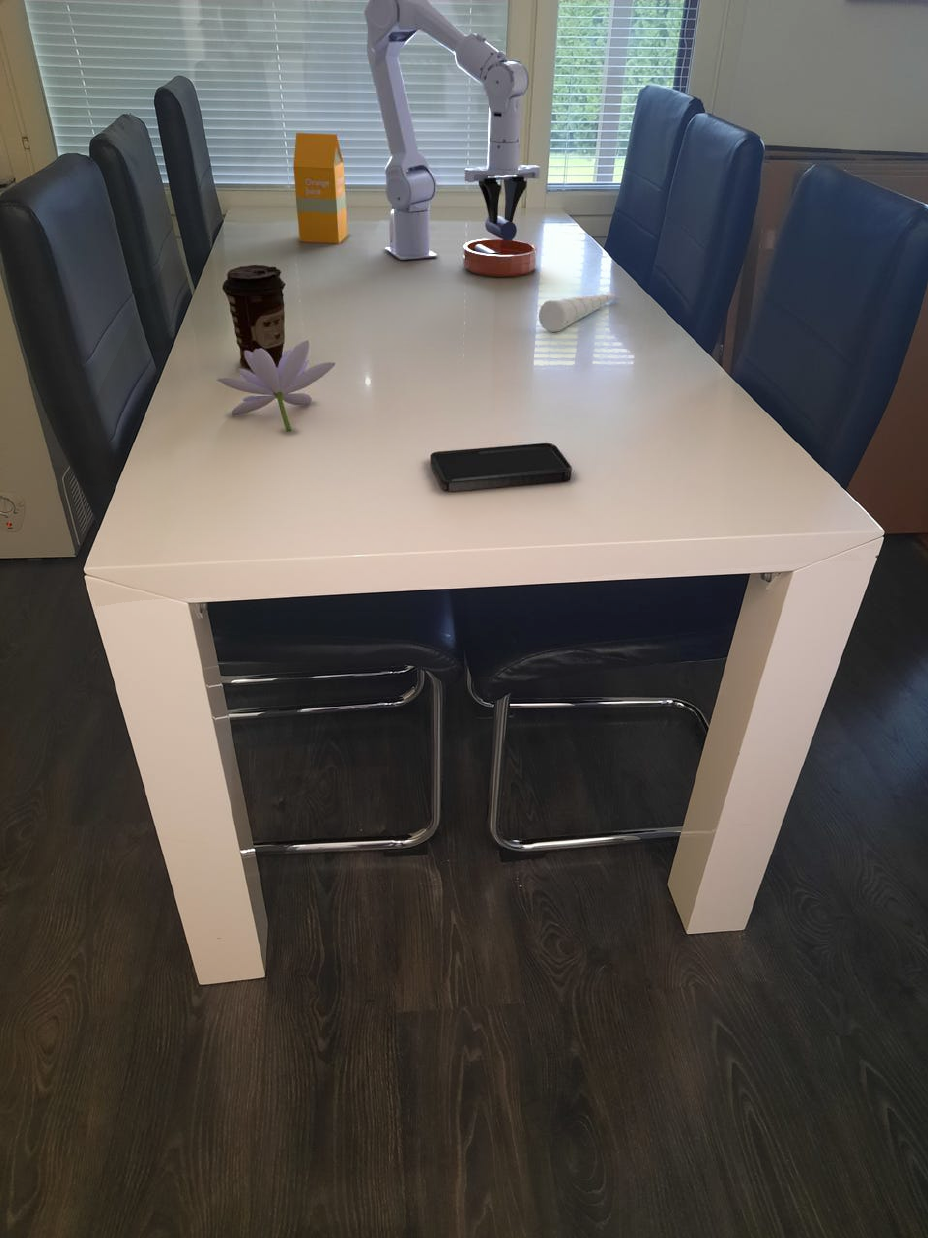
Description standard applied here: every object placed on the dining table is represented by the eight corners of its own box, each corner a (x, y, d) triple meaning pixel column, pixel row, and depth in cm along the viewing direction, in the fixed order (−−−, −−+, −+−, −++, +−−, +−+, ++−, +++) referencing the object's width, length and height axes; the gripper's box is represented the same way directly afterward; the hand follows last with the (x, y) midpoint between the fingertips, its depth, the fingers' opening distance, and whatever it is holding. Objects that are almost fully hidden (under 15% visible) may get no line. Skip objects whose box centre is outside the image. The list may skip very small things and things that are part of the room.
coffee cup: (305, 359, 125) (296, 266, 118) (277, 379, 119) (266, 281, 111) (252, 352, 127) (240, 260, 120) (222, 370, 121) (207, 274, 113)
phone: (574, 471, 95) (442, 482, 92) (573, 480, 96) (442, 492, 93) (552, 441, 101) (428, 451, 98) (551, 450, 102) (428, 460, 99)
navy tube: (483, 217, 164) (498, 211, 165) (487, 235, 166) (502, 229, 167) (498, 225, 159) (514, 218, 159) (502, 243, 161) (518, 237, 162)
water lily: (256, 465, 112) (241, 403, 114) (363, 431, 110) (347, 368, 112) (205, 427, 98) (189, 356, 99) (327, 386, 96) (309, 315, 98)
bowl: (452, 262, 172) (452, 241, 170) (515, 256, 177) (516, 236, 174) (481, 280, 162) (482, 258, 159) (547, 274, 166) (549, 252, 164)
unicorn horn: (632, 302, 152) (636, 274, 149) (560, 335, 137) (563, 305, 134) (609, 297, 154) (612, 269, 151) (536, 329, 139) (537, 299, 136)
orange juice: (309, 233, 190) (301, 130, 178) (348, 235, 189) (342, 132, 178) (299, 241, 184) (289, 135, 172) (339, 243, 183) (332, 136, 171)
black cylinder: (475, 265, 171) (468, 250, 168) (489, 256, 171) (482, 240, 168) (490, 274, 165) (483, 258, 163) (504, 264, 165) (497, 248, 163)
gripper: (476, 144, 149) (474, 228, 157) (550, 142, 154) (544, 223, 162) (460, 139, 154) (459, 220, 162) (532, 136, 159) (527, 216, 167)
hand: (500, 221), depth 162 cm, fingers closed on navy tube, 3 cm apart
